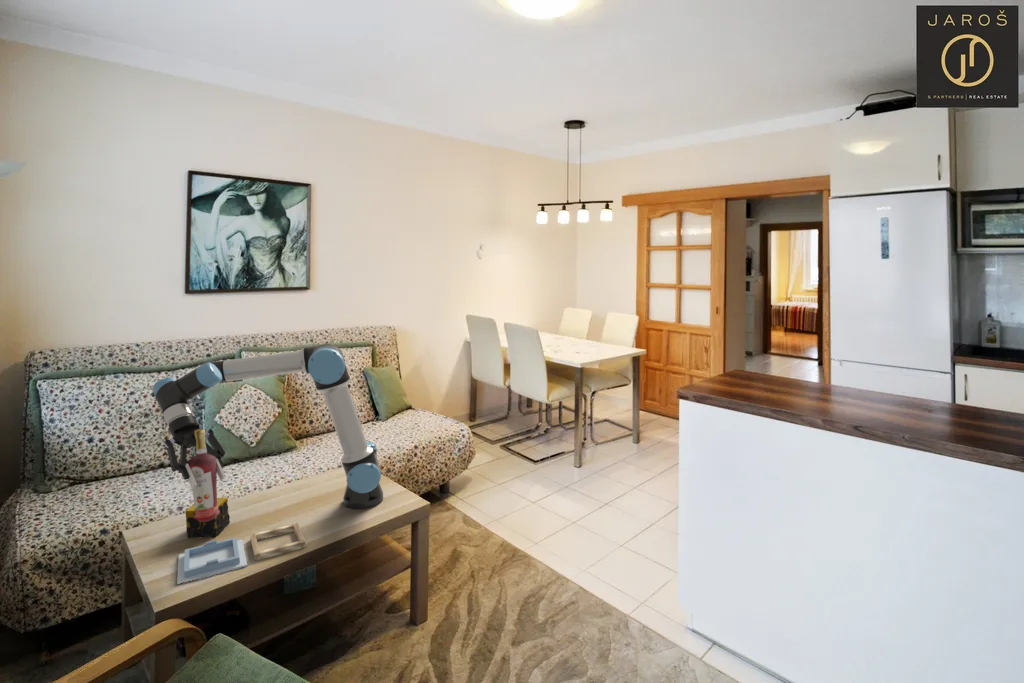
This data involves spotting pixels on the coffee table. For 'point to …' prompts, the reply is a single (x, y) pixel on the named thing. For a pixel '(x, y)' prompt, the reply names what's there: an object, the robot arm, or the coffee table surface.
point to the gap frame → (280, 549)
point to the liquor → (204, 480)
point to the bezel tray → (211, 559)
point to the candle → (209, 527)
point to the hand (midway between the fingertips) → (209, 482)
